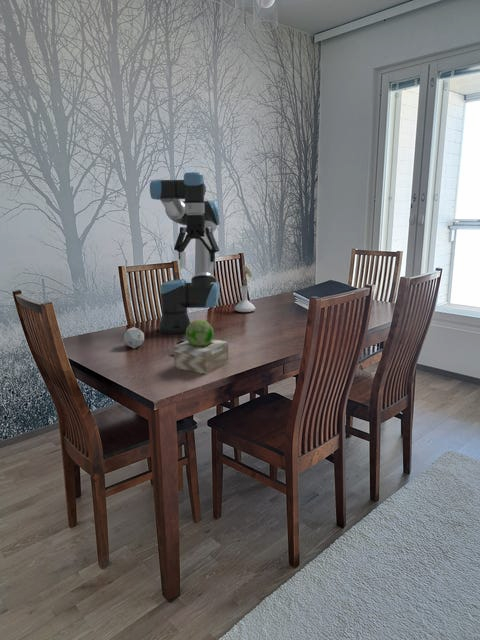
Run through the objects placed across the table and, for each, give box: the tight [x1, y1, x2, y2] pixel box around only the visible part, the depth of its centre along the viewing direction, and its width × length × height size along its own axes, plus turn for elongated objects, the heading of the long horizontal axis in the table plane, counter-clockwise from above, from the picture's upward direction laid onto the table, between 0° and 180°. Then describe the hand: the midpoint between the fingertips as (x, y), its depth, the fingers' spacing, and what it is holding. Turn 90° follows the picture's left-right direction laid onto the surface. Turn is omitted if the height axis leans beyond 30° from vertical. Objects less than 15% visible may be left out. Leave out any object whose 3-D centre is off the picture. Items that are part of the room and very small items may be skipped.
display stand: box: [172, 338, 229, 375], centre depth 167 cm, size 14×14×8 cm
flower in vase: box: [234, 265, 256, 313], centre depth 251 cm, size 13×11×25 cm
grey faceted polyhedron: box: [123, 326, 145, 350], centre depth 191 cm, size 8×9×10 cm
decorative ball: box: [185, 319, 215, 347], centre depth 165 cm, size 10×10×10 cm
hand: (196, 269), depth 184 cm, fingers open, 13 cm apart
